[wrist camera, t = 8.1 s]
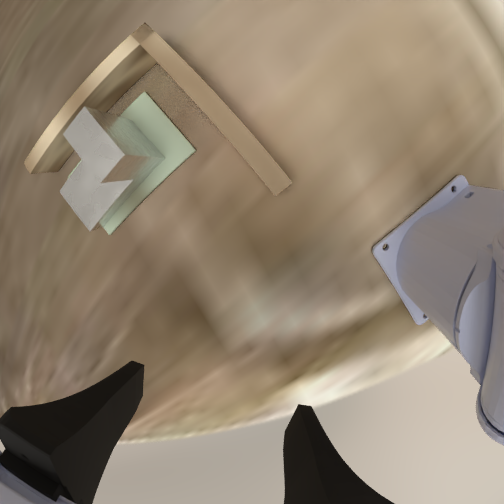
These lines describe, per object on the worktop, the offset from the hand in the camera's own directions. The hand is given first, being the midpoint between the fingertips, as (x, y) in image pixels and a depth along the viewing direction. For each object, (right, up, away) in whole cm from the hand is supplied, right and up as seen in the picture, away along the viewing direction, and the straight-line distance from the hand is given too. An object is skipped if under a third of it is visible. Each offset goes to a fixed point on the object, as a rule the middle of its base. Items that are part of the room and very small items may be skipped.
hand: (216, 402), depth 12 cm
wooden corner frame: (-5, +13, +7) cm, 16 cm away
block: (-8, +12, +7) cm, 16 cm away
